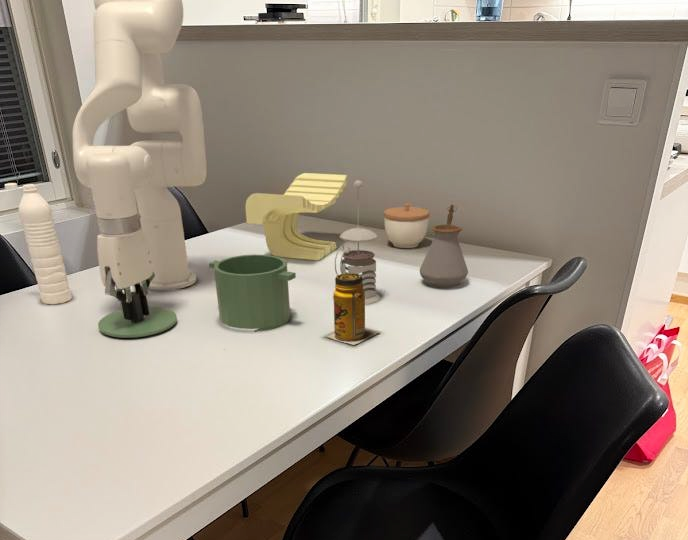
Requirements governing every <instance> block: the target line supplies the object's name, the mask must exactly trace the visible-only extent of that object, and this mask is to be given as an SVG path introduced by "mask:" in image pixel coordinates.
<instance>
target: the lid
mask: <svg viewBox="0 0 688 540" xmlns="http://www.w3.org/2000/svg"><path fill="white" fill-rule="evenodd" d="M131 297H132V301H134V302H135V306H136V312H137V317H138V320H137V321H131V320H127V319H125V318H124V315H123V310H122V309H119V310H115V311H114V312H110V313H108V314H106V315H105V316H103V317H101V318H100V320H99V321H98V324H97V327H98V330H99V331H100V332H101V333H102V334H104V335H107V336H109V337H115V338H123V339H124V338H128V339H129V338H142V337H147V336H152V335H156V334H159V333H162V332H165V331H167V330H168V329H171V328H172V327H173V326H174V325H175V324H176V323H177V321H178V318H177V317H178V316H177V314H176V313H175V312H174V311H173V310H171V309H169V308H167V307H162V306H161V307H160V306H150V305H148V309H149V315H147V316H146V315H143V310H142V305H141V299H140V294H139V292H134V291H131Z"/></svg>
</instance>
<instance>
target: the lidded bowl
mask: <svg viewBox="0 0 688 540" xmlns="http://www.w3.org/2000/svg"><path fill="white" fill-rule="evenodd" d="M430 213H431V212H430V210H428V209H427V208H424V207H418V206H410V203H405V204H404V206H396V207H395V206H394V207H390V208H387V209H384V211H383V217H384V231H385V234H386V237H387V239H388V240H389V241H390V242H391V244H392V246H394V247H395V248H400V249H413V248H416V247H418V246H419V244H420V243H422V241H423V240H424V239H425V237H426V235H427V233H428V229H429V223H430V221H429V220H430V215H431V214H430Z"/></svg>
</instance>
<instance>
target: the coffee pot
mask: <svg viewBox="0 0 688 540" xmlns="http://www.w3.org/2000/svg"><path fill="white" fill-rule="evenodd" d="M454 209H455V210H454ZM447 210H448V214H447V220H446V224H436V225H434V226H433V227H432V231H433V232H434V238H433V240H432V242H431V244H430V246H429V249H428V250H427V252H426V255H425V257H424V259H423V261H422V264H421V265H420V268H419V273H420V275H419V276H420V277H421V278H422V279H423V280H424V281H425V282H426V284H427V285H429V286H431V287H434V288H441V289H442V288H443V289H445V288H446V289H447V288H454V287H457V286H459V285H460V283H461V282H463V281H464V280H465V279H466V278H467V276H468V275H469V270H468V267H467V263H466V261H465V257H464V253H463V251H462V249H461V245H460V242H459V238H458V236H459V234H460V233H461V231H463V228H462V227H460V226H458V225H455V224H452V221H453V218H454V214H453V213H455V212H456V211H458V207H457V206H455V205H454V204H450V205H448V207H447Z"/></svg>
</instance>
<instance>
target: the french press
mask: <svg viewBox="0 0 688 540" xmlns="http://www.w3.org/2000/svg"><path fill="white" fill-rule="evenodd" d="M363 186H364V183H363V182H362V181H361V180H359V179H357V180H355V181H354V182H353V187H354V188H357V227H354V228H350V229H347V230H345V231H344V232H342V233H341V234H340V235H339V238H340V240H341V241H344V242H347V243H357V249H356V250H355V249H353V250H351V247H350V246H347V247H346V248H345V245H341V246H340V247H338V248H337V251H336V254H335V258H334V272H335V274H336V276H338V275H339V273H338V270H337V264H336V263H337V258H338V254H339V252H340V250H341V249H342V251H343V252H342V254H341V257H340V262H339V270H340V274H346V273H353V274H358V275H361V276H362V279H363V282H362V283H363V290H364V291H365V305H370V304H374V303H376V302H377V301H379V300H380V298H381V296H380V294H379V293H378V292H377V291H376V289H377V285H376V284H377V280H376V278H377V274H376V272H377V261H376V259H374V257H375V256H376V255H375V253H374V252H373V251H370V250H364V249H360V243H367V242H371V241H374V240H376V238H377V237H378V234H376V233H375V231H372V230H371V229H368V228H364V227H360V224H359V223H360V193H359V192H360V188H362V187H363ZM346 265H347V266H346Z"/></svg>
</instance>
